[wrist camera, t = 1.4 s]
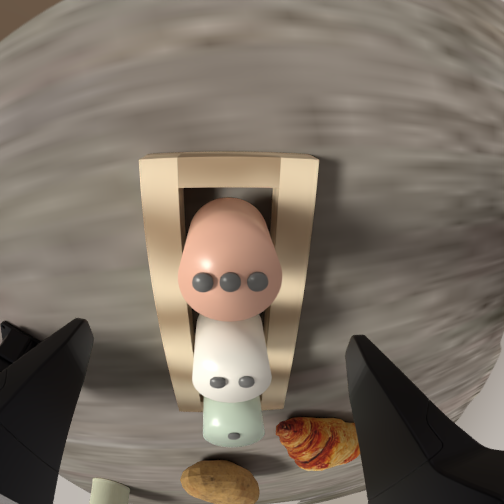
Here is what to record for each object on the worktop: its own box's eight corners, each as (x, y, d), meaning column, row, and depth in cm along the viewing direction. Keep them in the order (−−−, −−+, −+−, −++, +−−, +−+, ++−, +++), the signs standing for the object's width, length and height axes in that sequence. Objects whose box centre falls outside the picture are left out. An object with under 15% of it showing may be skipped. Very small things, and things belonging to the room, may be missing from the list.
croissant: (361, 421, 43) (393, 442, 36) (326, 464, 41) (354, 488, 34) (287, 384, 35) (325, 415, 28) (240, 441, 33) (269, 480, 26)
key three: (265, 268, 20) (278, 322, 15) (191, 269, 20) (182, 324, 15) (269, 197, 18) (287, 233, 13) (187, 197, 18) (172, 234, 13)
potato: (207, 441, 36) (207, 490, 28) (270, 463, 41) (275, 503, 34) (167, 457, 38) (164, 499, 31) (229, 477, 43) (231, 513, 36)
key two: (260, 347, 24) (269, 403, 19) (199, 349, 23) (196, 405, 18) (263, 298, 22) (275, 355, 17) (194, 300, 21) (187, 357, 16)
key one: (256, 399, 27) (262, 447, 22) (206, 400, 27) (205, 449, 22) (259, 367, 25) (266, 420, 20) (201, 368, 24) (200, 422, 19)
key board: (279, 391, 31) (283, 408, 29) (181, 394, 30) (179, 411, 28) (308, 154, 20) (319, 159, 18) (148, 154, 19) (138, 159, 17)
